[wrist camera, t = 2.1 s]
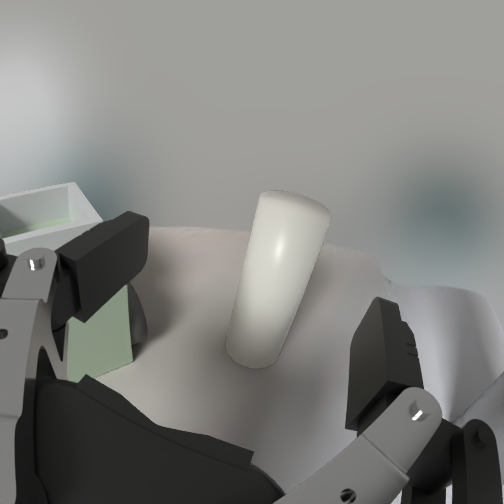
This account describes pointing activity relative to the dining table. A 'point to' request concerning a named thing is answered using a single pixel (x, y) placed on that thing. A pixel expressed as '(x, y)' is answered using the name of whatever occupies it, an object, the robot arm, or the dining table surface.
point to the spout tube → (275, 275)
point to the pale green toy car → (52, 237)
